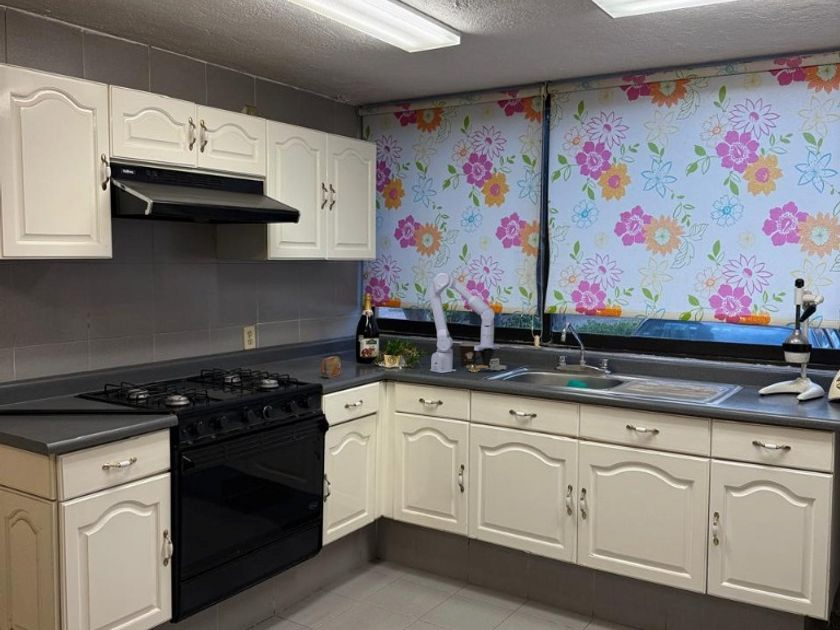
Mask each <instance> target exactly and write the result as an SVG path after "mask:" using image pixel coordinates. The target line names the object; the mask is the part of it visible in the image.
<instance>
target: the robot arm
mask: <svg viewBox="0 0 840 630" xmlns="http://www.w3.org/2000/svg"><path fill="white" fill-rule="evenodd" d="M446 288H448V289H453V290H455V291H456V292H457V293H458V294H460V295H461V296H462V297H463V298H464V299H465V300H466V301H467V302H468V303H467V305H468V307H470V309H472V311H474V312H475V313H476V314H477V315H478V316H480V318H481V325H480V344H476V345H477V346H474V350H476V351H477V352H479V354H480V356H481V357H480V358H481V360H482V363H483V364H482V365H484V366H489V364H490V360H491V359H492V357H493V355H494V354H495V352H496V351H495V350H497V349H500V344H499V343H494V340H495V338H494V336H495V325H494V324H495V320H494V318H495V316H496V315H495V314H496V313H495V311H494V310H493V308H492V307H490V305H489V304H486V303H485V302H484V301H483V300H482V297H481V296H478V295H473V294H472V293H471V292H470V291H469V290H468V289H467V288H466V287H464V286H463V284H462V283H461V282H459V281H458V280H457V279H456V278H455V277H453V276H451V274H449V273H448V272H442V273H438V274H437V275H436V276H435V278H433V280H432V283H431V286H430V289H429V292H428V296H429V300H430V304H431V306H430V307H431V309H432V314H433V315H432V316H433V318H434V324H435V329H436V338H437V342H436V347H437V349H436V352H433V353H432V355H431V359H430V360H431V362H430V363H431V365H430V367H431V368H430V369H429V371H430V372H435V373H440V374H445V373H451V372H452V371H453V372H457V371H458V370H457V369H453V359H454V356H453V355H454V350H453V348H452V347H453V344H454V341H453V338H452V337H451V336H450V332H449V330H448V325H447V321H446V317H445V311H444V307H443V303H442V299H441V298H442V297H441V294H442V293H443V292H444V290H445V289H446Z"/></svg>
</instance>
